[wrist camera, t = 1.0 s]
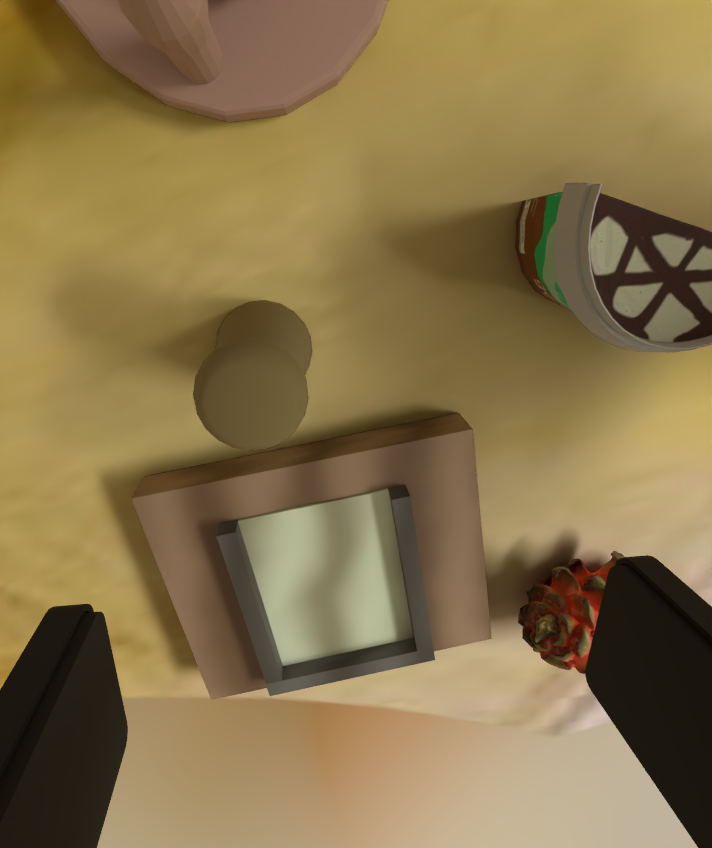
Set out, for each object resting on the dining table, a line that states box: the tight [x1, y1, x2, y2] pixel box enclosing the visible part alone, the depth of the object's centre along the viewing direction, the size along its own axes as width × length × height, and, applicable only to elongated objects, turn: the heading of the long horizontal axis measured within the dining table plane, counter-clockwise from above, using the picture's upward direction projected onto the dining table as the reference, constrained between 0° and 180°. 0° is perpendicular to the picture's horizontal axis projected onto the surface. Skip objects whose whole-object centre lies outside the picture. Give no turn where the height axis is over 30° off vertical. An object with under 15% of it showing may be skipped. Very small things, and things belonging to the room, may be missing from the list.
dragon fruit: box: [518, 551, 625, 674], centre depth 39 cm, size 8×8×12 cm
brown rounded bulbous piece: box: [193, 300, 312, 450], centre depth 27 cm, size 6×6×11 cm
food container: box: [515, 183, 712, 352], centre depth 28 cm, size 12×6×10 cm, turn 74°
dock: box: [131, 413, 491, 700], centre depth 36 cm, size 22×18×4 cm
